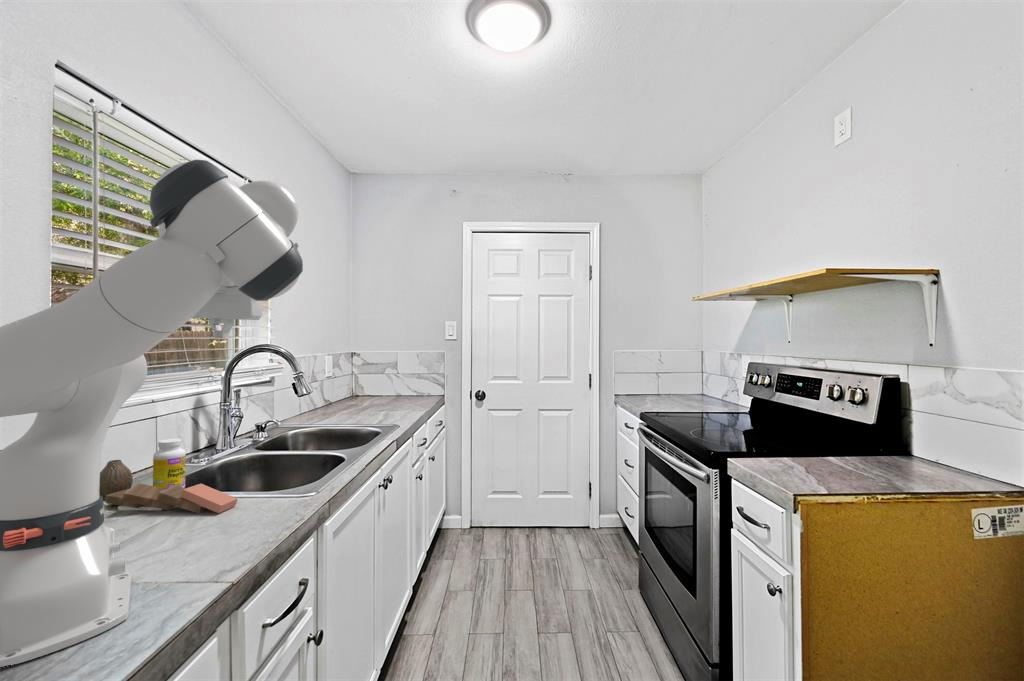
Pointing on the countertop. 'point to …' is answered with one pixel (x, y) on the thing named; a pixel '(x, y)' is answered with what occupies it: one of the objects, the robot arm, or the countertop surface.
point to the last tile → (138, 508)
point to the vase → (114, 478)
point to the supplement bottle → (169, 464)
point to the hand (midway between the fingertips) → (221, 338)
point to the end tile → (209, 498)
